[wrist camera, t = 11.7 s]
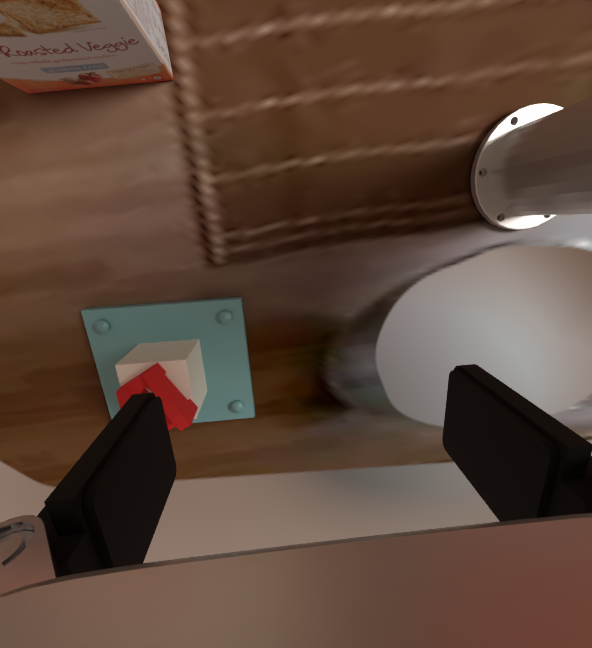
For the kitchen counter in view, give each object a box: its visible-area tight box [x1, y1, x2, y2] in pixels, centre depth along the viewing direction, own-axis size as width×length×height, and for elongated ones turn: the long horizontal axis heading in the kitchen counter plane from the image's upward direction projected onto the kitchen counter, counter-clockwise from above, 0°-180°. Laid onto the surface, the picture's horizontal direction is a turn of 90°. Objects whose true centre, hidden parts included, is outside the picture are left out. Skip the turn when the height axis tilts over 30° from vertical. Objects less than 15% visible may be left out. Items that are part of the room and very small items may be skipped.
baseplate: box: [81, 297, 255, 423], centre depth 38 cm, size 18×16×2 cm
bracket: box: [116, 363, 198, 431], centre depth 31 cm, size 6×5×3 cm
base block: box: [115, 339, 207, 419], centre depth 35 cm, size 7×7×6 cm
